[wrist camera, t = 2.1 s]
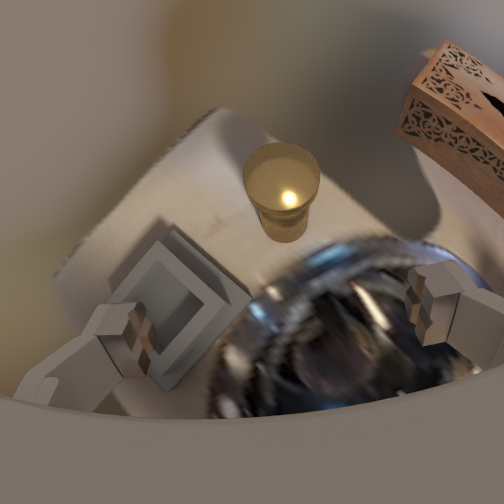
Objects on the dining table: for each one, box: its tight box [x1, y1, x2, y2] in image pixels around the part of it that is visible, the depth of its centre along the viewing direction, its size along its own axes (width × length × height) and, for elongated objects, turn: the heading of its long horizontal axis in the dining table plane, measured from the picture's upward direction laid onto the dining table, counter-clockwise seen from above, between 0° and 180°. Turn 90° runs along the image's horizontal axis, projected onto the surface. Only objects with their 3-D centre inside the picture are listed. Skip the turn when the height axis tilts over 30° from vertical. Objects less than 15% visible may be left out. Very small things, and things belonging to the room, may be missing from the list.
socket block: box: [105, 230, 252, 392], centre depth 33 cm, size 14×12×4 cm
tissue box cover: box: [393, 39, 504, 219], centre depth 31 cm, size 26×14×10 cm, turn 50°
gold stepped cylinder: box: [243, 142, 320, 243], centre depth 31 cm, size 6×6×11 cm
